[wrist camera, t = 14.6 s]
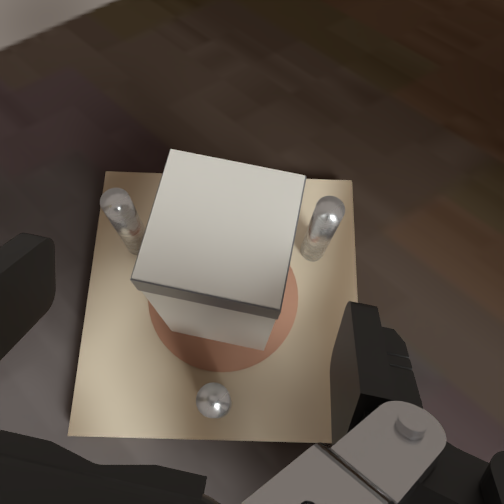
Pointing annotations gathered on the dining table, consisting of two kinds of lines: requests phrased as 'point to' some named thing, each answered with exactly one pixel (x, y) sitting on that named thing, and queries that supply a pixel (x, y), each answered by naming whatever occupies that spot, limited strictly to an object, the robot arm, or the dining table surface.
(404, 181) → the dining table surface
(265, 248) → the block
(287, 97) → the dining table surface
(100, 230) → the pin cradle
